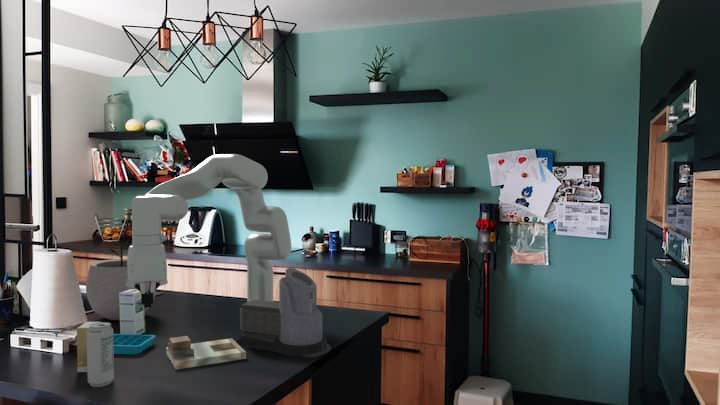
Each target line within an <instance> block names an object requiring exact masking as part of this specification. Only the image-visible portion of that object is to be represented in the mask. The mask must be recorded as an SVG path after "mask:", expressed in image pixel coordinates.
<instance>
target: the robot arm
mask: <svg viewBox="0 0 720 405" xmlns="http://www.w3.org/2000/svg"><path fill="white" fill-rule="evenodd" d="M268 177H269V176H268V172H267V169H266V168H265V167H264V165H262V164H260V163H259V162H256V161H255V160H253V159H250V158H248V157H246V156H244V155H242V154H238V153H237V154H236V153H225V154H224V153H220V154H213V155H211V156H209V157H207V158H205V160H203V161H202V162H201V163H199V164H198V165H197V166H196V167H193V169H191V170H190V171H188V172H187V173H185V174H181V175H179V176H177V177H174V178H173V179H169V180H167V181H164V182H162V183H160V184H158V185H156V186H155V187H153V188H152V189H151V190H149V191H148V192H147V193H145V194H144V195H137V196H134V197H133V199H132V201H131V210H132V211H131V217H132V218H131V225H132V226H131V233H132V236H131V239H132V240H131V242H132V243H131V245H129V247H128V251H127V257H126V258H127V283H126V286H127V287H131V288H136V289H137V290H139V291H140V292H141V304H142V305H144V307H145V308H147V307H149V308H148V309H150V308H152V304H154V300H153V293H154V292H155V290H156V289H158V288H159V287H162V286H164V285H167V284H168V283H169V282H168V278H167V277H168V268H167V267H168V266H167V256H166V250H165V245H164V244H163V243H164V242H165V241H166V242H167V241H168V236H167V235H164V234H162V222H163V221H164V222H177V221H180V220H182V219H184V218H185V217H186V215H187V214H188V212H189V204H188V200H193V199H194V200H195V199H198V198H201V197H204V196H206V195H207V194H209V193H210V192H211V191H212V190H213V189H214V188H216V187H217V186H218V185H219V184H220V183H222V184H223V185H224V186H225V187H227V188H229V189H231V190H232V191H234V193H235V194H236V195H237V198H238V201H239V204H240V209H241V214H242V220H243V224H244V227H245V229H246V230H248V231H249V232H253V233H252V234H249V235H248V236H247V237H246V238H245V241H244V244H243V245H244V254H245V259H246V268H247V270H246V272H247V274H246V276H247V280H246V284H247V287H246V288H247V292H246V293H247V300H246V301H247V302H250V301H252V300H263V301H273V302H274V268H273V266H272V263H271V261H285V260H287V259H288V258H289V257H290V256H291V254H292V241H291V240H292V239H291V234H290V227H289V221H288V218H287V216H288V215H287V214H286V212H285V210H284V209H283V208H281V207H280V206H275V205H273V206H272V205H267V204H266V202H265V199H264V194H263V191H262V189H263V188H264V187H265V186H266V185H267V182H268ZM144 282H150V285H149V289H148V292H147V291H146V290H145V284H144ZM138 283H139V284H138ZM156 291H157V290H156ZM247 302H246V303H247Z"/></svg>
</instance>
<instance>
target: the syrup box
mask: <svg viewBox="0 0 720 405" xmlns="http://www.w3.org/2000/svg"><path fill="white" fill-rule="evenodd" d="M119 304H120V320H119V329H120V331H119V334H135V335H143V333H145V332H146V311H145V307H144V305H142V304H141V292H140V291H139V290H137V289H130V290H127V291H124V292H121V293H119Z"/></svg>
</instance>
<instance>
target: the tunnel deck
mask: <svg viewBox="0 0 720 405" xmlns="http://www.w3.org/2000/svg"><path fill="white" fill-rule="evenodd" d="M236 342H237V341H236V340H234V338H232V337H231V338H225V339H216V340H210V341H202V342H196V343H191V349H183V350H176V351H173V357H172V355H171V354H170V352H169V342H167V346H166V355H167V357H168V358H169V360H171V361H170V362H171V364H172V365H173V368H174V369H175V370H182V369H183V370H184V369H189V368H194V367H201V366H202V367H203V366H208V365H214V364H221V363H228V362H234V361H238V360H239V361H240V360H244V359H245V360H246V359H247V352H246V350H245V349H244V348H242V347H240V346H239V345H238V344H237V343H236Z"/></svg>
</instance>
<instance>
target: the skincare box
mask: <svg viewBox="0 0 720 405" xmlns="http://www.w3.org/2000/svg"><path fill="white" fill-rule="evenodd" d="M99 322H100V321H85V322H83V323H82V324H81V325H79V326H77V328H76V343H77V345H76V352H77V353H76V355H77V356H76V357H77V363H76V364H77V373H88V371H87V331H88V330H89V328H90V327H89V326H90V325H91V324H94V323H99Z"/></svg>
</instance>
